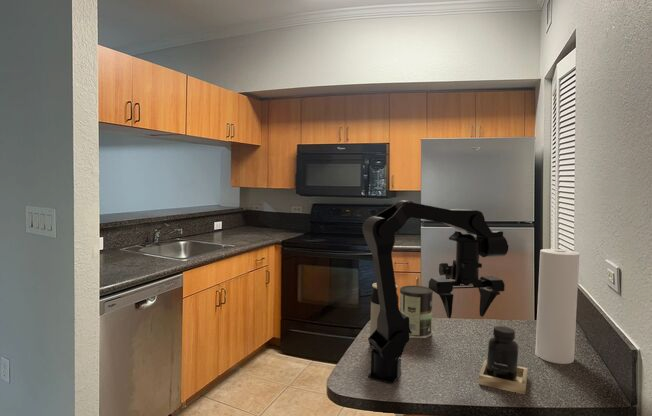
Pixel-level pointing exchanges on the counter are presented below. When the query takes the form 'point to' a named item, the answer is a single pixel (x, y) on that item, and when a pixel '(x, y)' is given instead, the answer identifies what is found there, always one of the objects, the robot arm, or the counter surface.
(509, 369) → the supplement bottle
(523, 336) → the counter surface
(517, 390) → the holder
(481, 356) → the counter surface
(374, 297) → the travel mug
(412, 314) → the coffee can
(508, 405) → the counter surface
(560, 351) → the paper towel roll
